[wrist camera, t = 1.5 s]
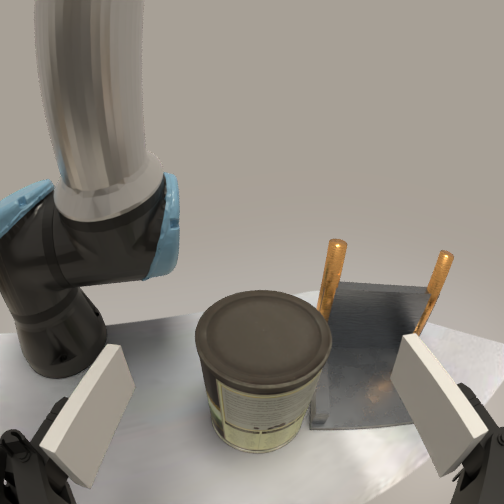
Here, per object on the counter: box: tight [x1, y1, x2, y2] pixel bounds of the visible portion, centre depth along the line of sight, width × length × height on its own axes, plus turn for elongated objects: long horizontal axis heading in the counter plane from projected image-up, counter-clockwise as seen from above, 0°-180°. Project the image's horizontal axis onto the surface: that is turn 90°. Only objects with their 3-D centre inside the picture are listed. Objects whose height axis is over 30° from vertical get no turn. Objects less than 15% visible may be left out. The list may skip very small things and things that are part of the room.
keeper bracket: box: [310, 239, 454, 430], centre depth 27 cm, size 16×14×16 cm
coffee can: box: [195, 290, 332, 453], centre depth 24 cm, size 10×10×14 cm
